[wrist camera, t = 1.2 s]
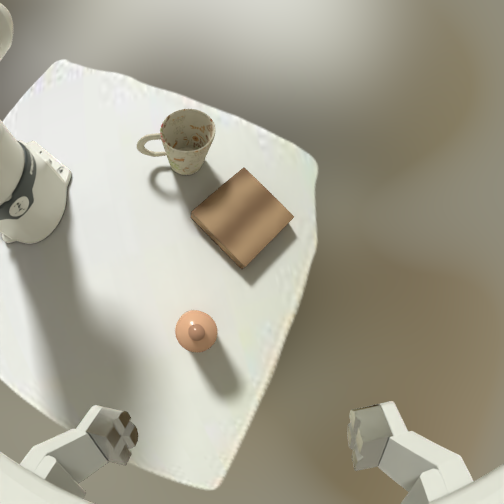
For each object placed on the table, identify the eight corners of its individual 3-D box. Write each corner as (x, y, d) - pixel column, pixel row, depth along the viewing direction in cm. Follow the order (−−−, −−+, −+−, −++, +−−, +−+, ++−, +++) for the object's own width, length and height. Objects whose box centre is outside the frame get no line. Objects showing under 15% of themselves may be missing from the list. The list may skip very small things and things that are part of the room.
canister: (171, 326, 42) (166, 332, 31) (194, 303, 44) (196, 302, 33) (195, 349, 42) (197, 362, 31) (217, 326, 44) (227, 332, 33)
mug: (210, 180, 48) (216, 151, 38) (139, 184, 45) (130, 155, 35) (208, 141, 49) (214, 108, 40) (141, 144, 46) (135, 111, 37)
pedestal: (190, 217, 46) (191, 211, 43) (240, 174, 50) (243, 167, 47) (241, 269, 46) (245, 266, 43) (288, 222, 50) (294, 216, 47)
